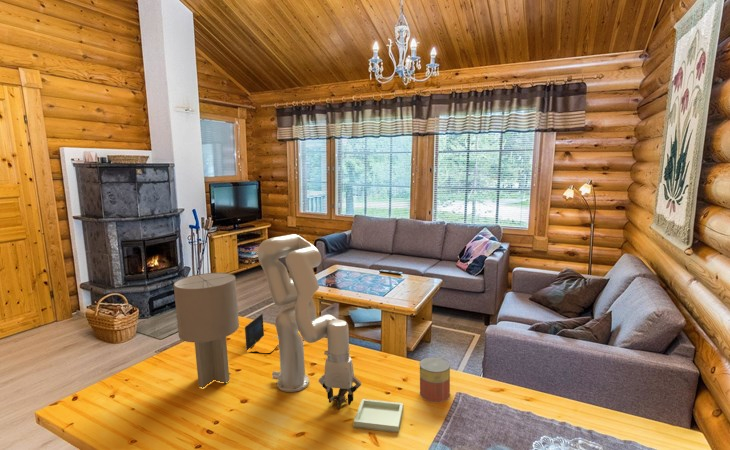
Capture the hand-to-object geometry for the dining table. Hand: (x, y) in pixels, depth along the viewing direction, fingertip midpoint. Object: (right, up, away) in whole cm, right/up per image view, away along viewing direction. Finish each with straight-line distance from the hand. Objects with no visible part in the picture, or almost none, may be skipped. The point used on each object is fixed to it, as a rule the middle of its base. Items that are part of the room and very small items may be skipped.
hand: (340, 401), depth 141 cm
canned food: (+35, 0, +7) cm, 36 cm away
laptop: (-40, +4, +52) cm, 66 cm away
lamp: (-54, -1, +21) cm, 58 cm away
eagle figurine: (0, -2, +2) cm, 3 cm away
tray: (+14, -3, -7) cm, 16 cm away
